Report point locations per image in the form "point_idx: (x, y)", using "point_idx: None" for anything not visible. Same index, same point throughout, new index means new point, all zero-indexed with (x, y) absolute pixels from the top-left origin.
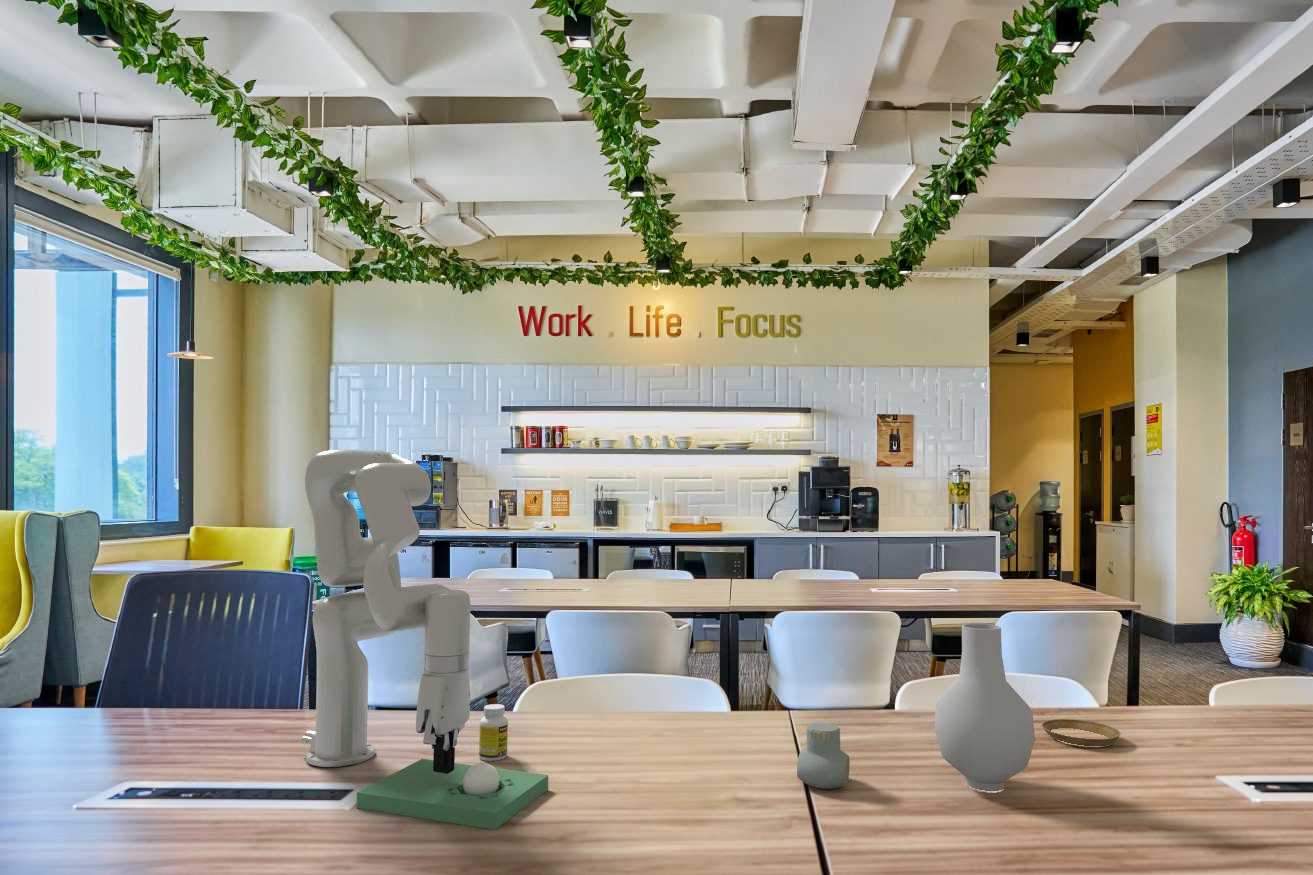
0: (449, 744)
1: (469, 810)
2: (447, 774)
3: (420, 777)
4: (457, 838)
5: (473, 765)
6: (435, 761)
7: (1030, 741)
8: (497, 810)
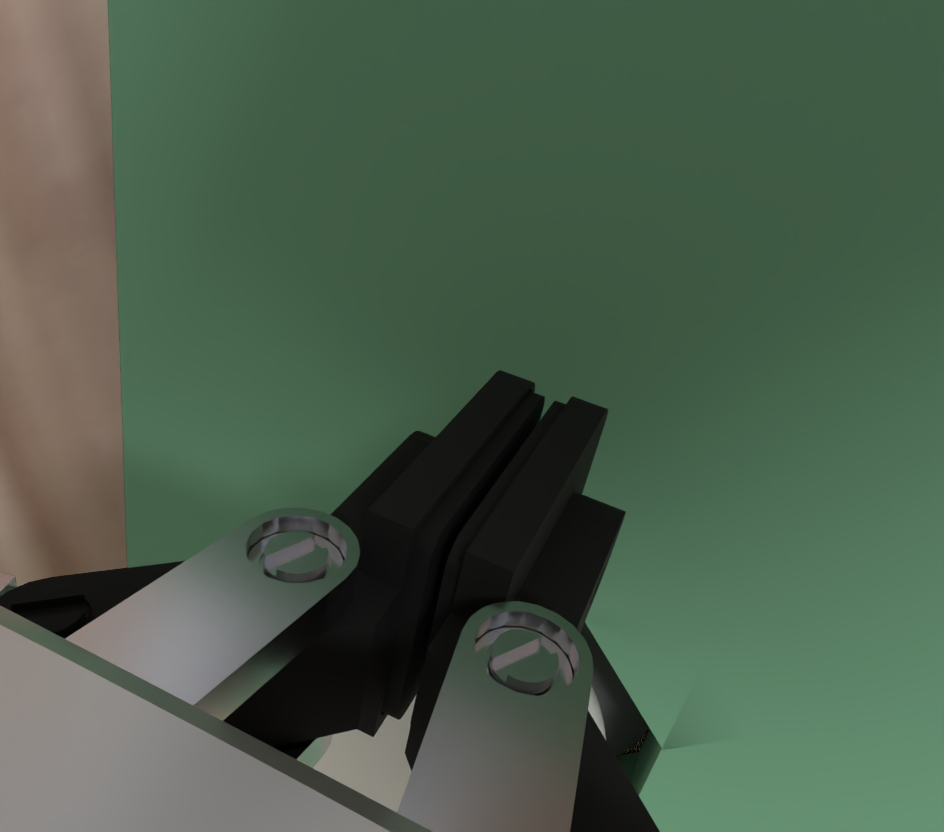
0: (410, 750)
1: None
2: (788, 422)
3: (679, 126)
4: (68, 556)
5: (399, 804)
6: (389, 462)
7: None
8: None
